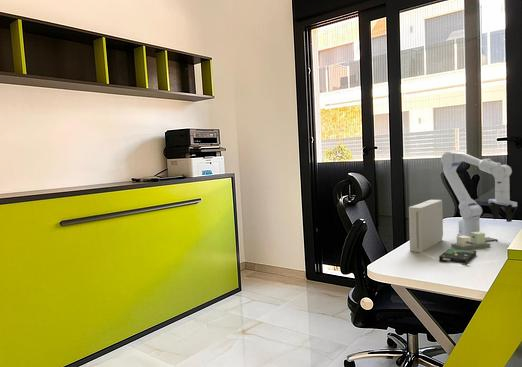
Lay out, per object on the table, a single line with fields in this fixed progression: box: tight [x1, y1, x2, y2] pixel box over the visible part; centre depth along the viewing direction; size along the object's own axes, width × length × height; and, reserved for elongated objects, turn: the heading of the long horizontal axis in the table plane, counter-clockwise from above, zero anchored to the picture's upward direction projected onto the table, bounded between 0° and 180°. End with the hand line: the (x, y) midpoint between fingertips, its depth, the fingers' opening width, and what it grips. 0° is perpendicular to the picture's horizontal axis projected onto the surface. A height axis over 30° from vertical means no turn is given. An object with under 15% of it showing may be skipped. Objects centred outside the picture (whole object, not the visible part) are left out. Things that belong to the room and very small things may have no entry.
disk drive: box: [438, 248, 477, 266], centre depth 162 cm, size 10×3×15 cm
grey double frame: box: [451, 242, 491, 251], centre depth 177 cm, size 7×14×2 cm, turn 102°
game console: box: [408, 199, 444, 254], centre depth 185 cm, size 6×27×20 cm, turn 137°
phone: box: [485, 236, 499, 243], centre depth 187 cm, size 6×11×1 cm, turn 102°
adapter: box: [456, 235, 473, 246], centre depth 174 cm, size 7×4×5 cm, turn 12°
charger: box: [470, 231, 486, 245], centre depth 177 cm, size 4×4×6 cm
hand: (502, 220), depth 185 cm, fingers open, 7 cm apart
